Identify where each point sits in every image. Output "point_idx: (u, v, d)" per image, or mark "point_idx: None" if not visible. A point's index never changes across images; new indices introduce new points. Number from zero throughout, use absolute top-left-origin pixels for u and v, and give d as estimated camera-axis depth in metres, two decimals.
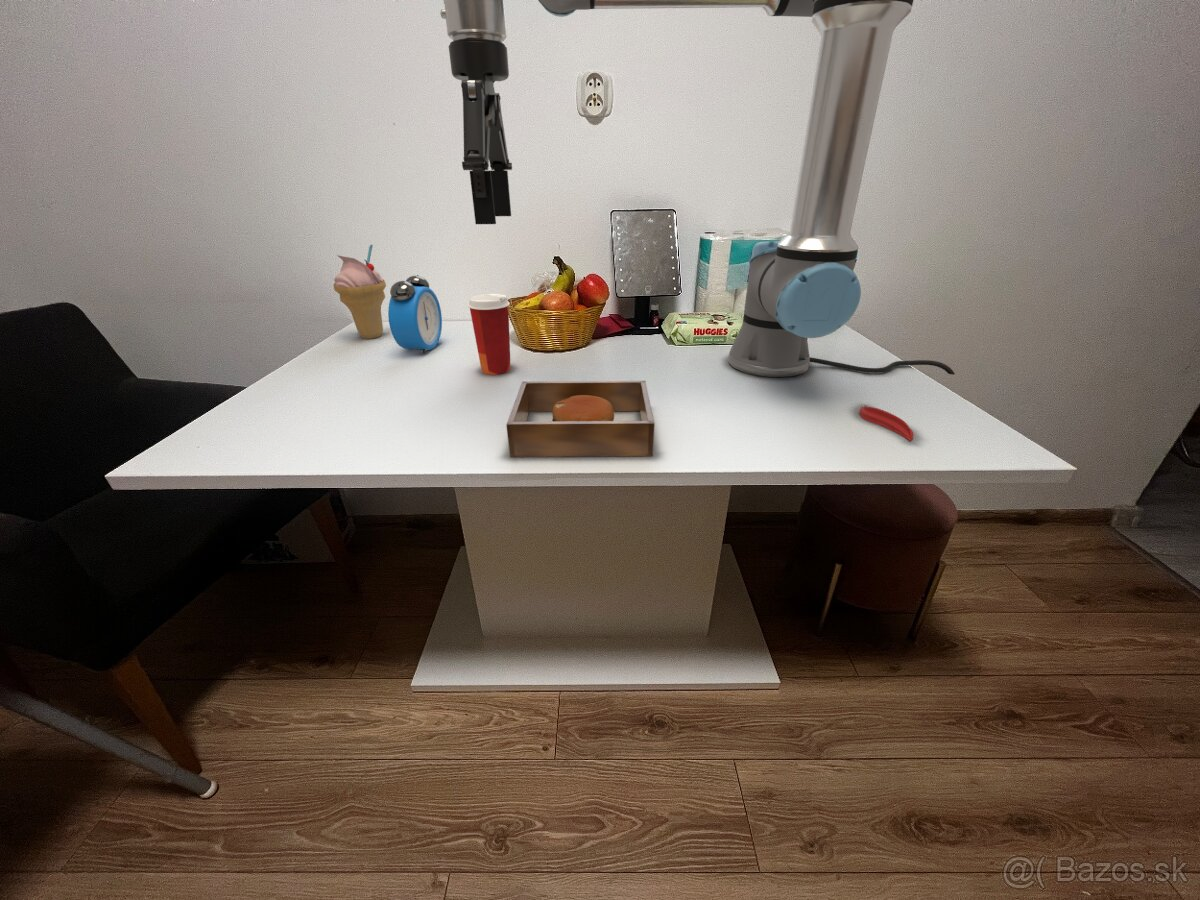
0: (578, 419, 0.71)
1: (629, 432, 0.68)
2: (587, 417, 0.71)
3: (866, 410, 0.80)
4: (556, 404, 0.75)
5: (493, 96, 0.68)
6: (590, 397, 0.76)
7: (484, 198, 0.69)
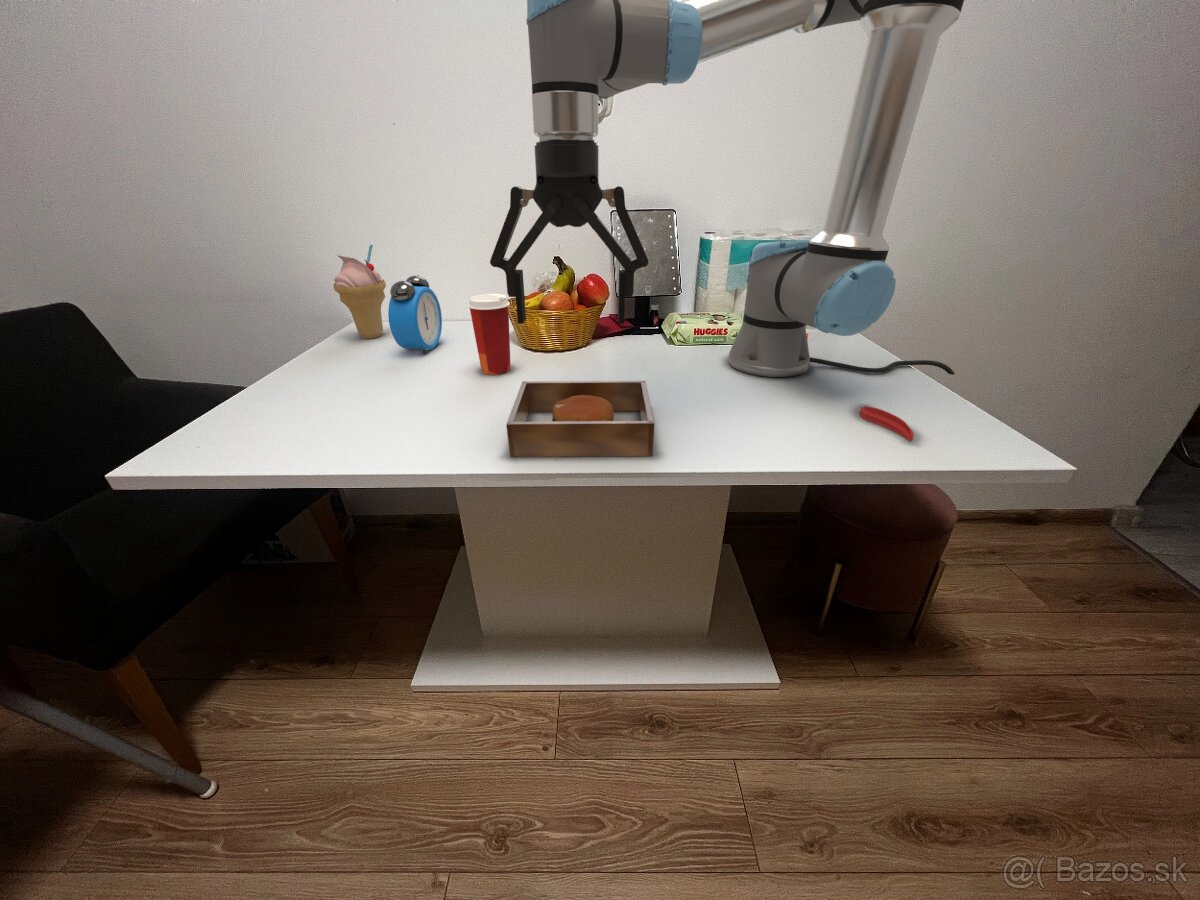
0: (578, 419, 0.71)
1: (629, 432, 0.68)
2: (587, 417, 0.71)
3: (866, 410, 0.80)
4: (556, 404, 0.75)
5: (552, 198, 0.61)
6: (590, 397, 0.76)
7: None
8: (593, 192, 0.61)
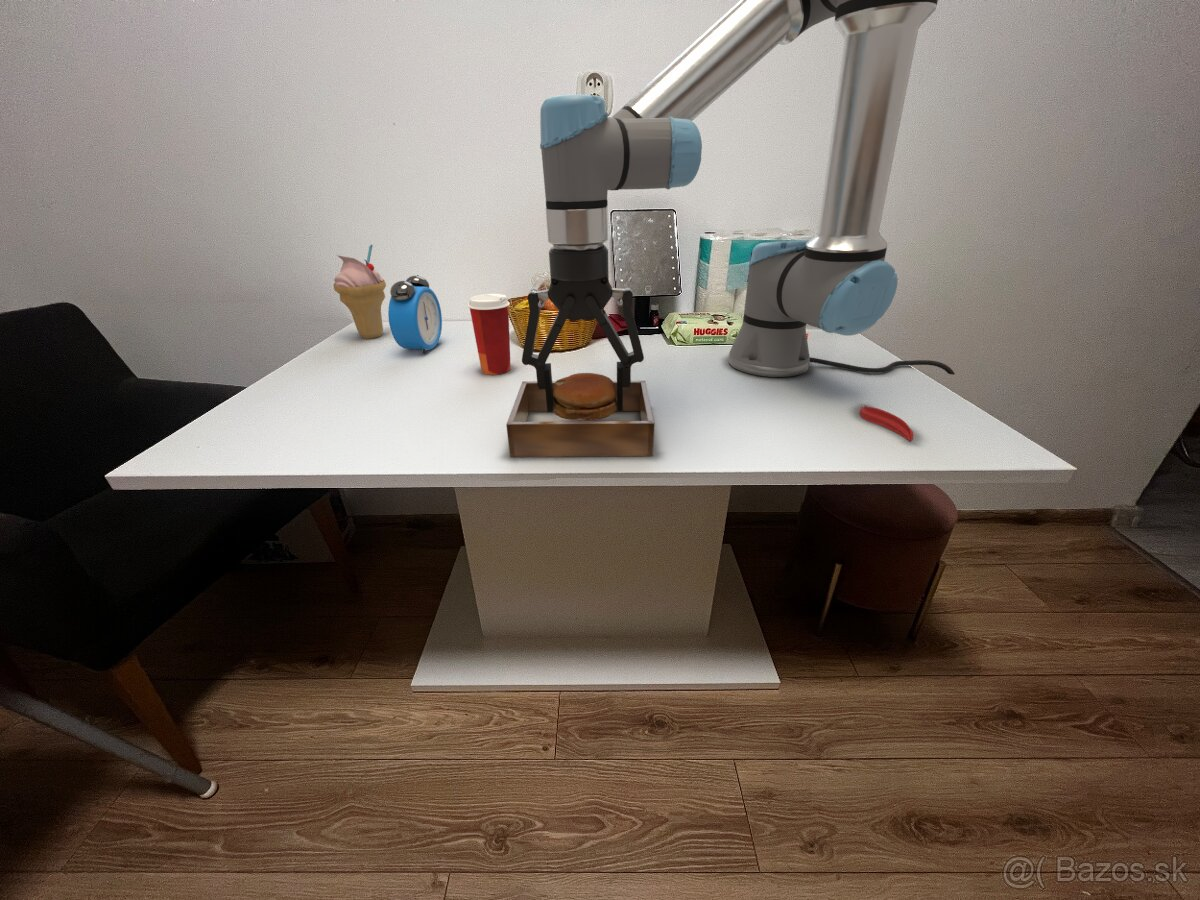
0: (579, 396, 0.70)
1: (629, 432, 0.68)
2: (588, 393, 0.70)
3: (866, 410, 0.80)
4: (557, 382, 0.74)
5: (566, 297, 0.65)
6: (591, 374, 0.74)
7: None
8: (604, 291, 0.66)
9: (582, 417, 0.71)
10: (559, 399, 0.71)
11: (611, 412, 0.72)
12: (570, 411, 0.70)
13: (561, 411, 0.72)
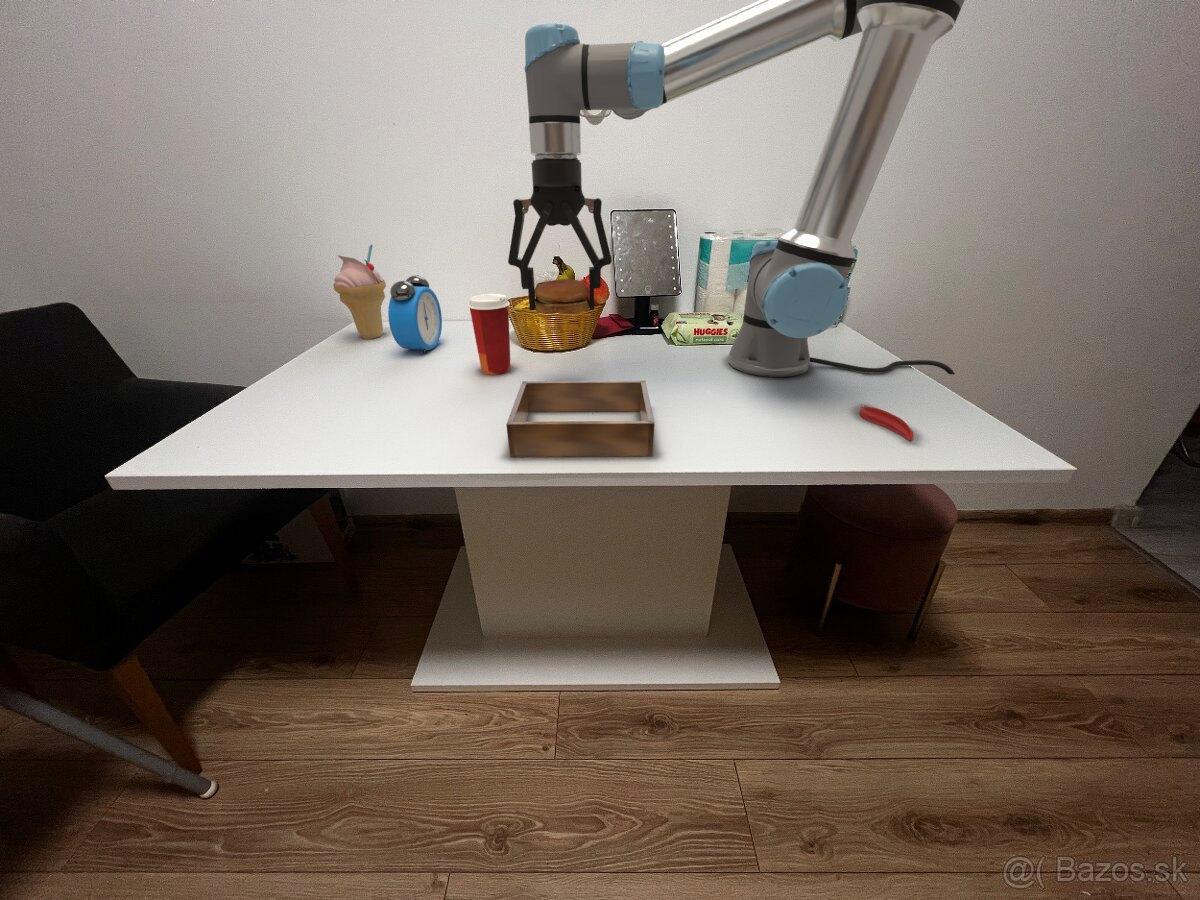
0: (556, 291, 0.82)
1: (629, 432, 0.68)
2: (564, 289, 0.83)
3: (866, 410, 0.80)
4: (538, 284, 0.86)
5: (546, 203, 0.78)
6: (568, 279, 0.87)
7: None
8: (578, 198, 0.78)
9: (559, 311, 0.83)
10: (539, 295, 0.84)
11: (584, 308, 0.85)
12: (549, 305, 0.83)
13: (542, 307, 0.85)
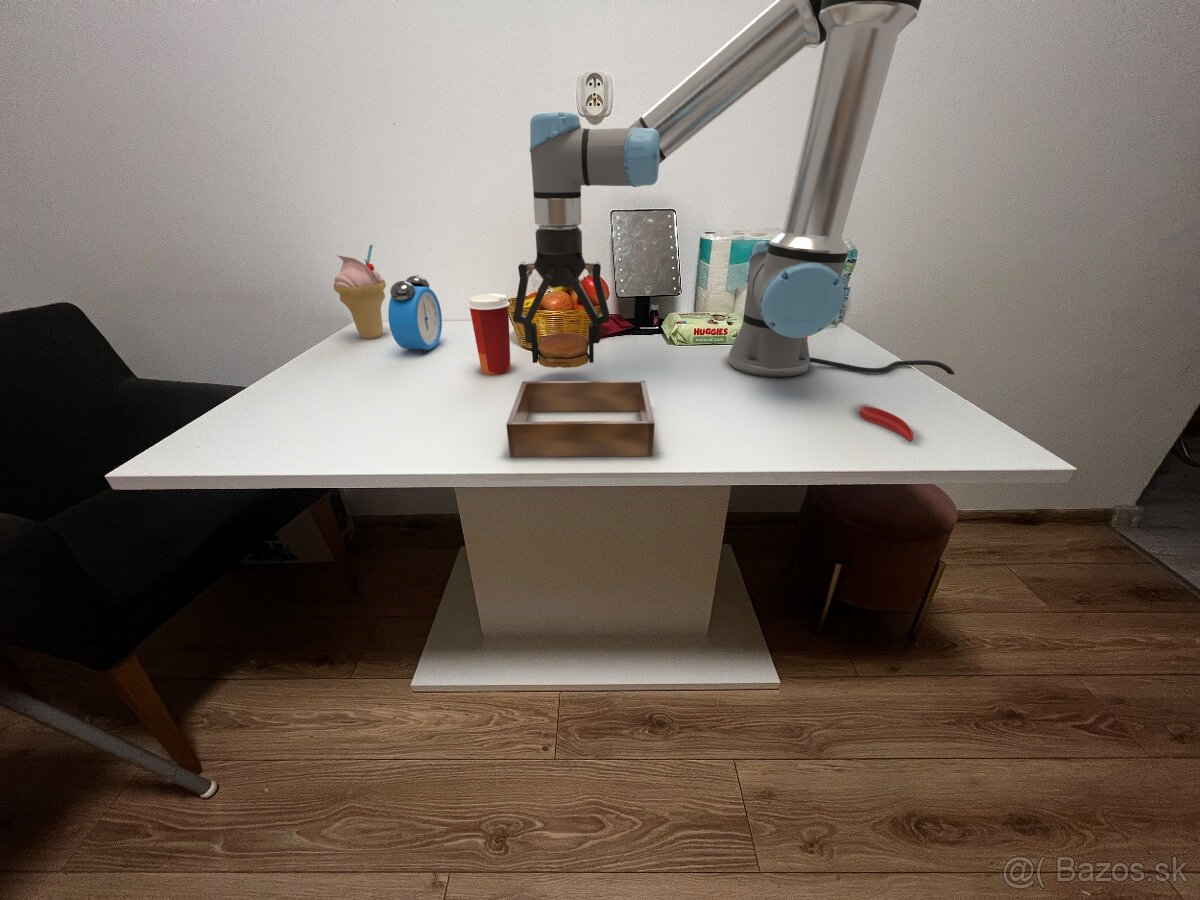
0: (558, 347, 0.88)
1: (629, 432, 0.68)
2: (565, 346, 0.88)
3: (866, 410, 0.80)
4: (541, 338, 0.92)
5: (548, 268, 0.84)
6: (569, 333, 0.93)
7: (532, 343, 0.91)
8: (578, 264, 0.84)
9: (560, 365, 0.89)
10: (542, 350, 0.89)
11: (584, 362, 0.90)
12: (551, 360, 0.89)
13: (544, 361, 0.90)
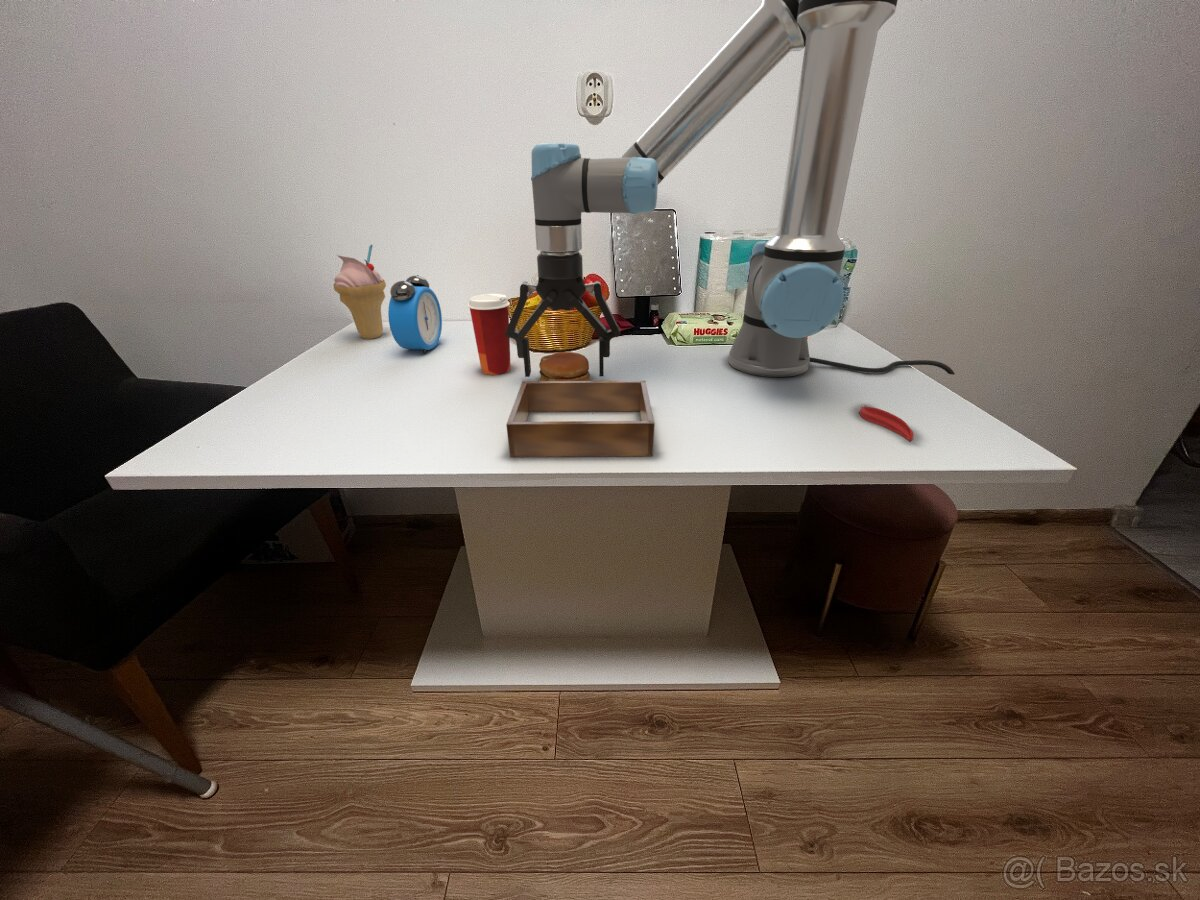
0: (559, 368, 0.90)
1: (629, 432, 0.68)
2: (566, 366, 0.90)
3: (866, 410, 0.80)
4: (542, 358, 0.94)
5: (550, 292, 0.86)
6: (570, 353, 0.94)
7: None
8: (579, 287, 0.86)
9: None
10: (544, 370, 0.91)
11: None
12: (552, 380, 0.90)
13: (546, 380, 0.92)
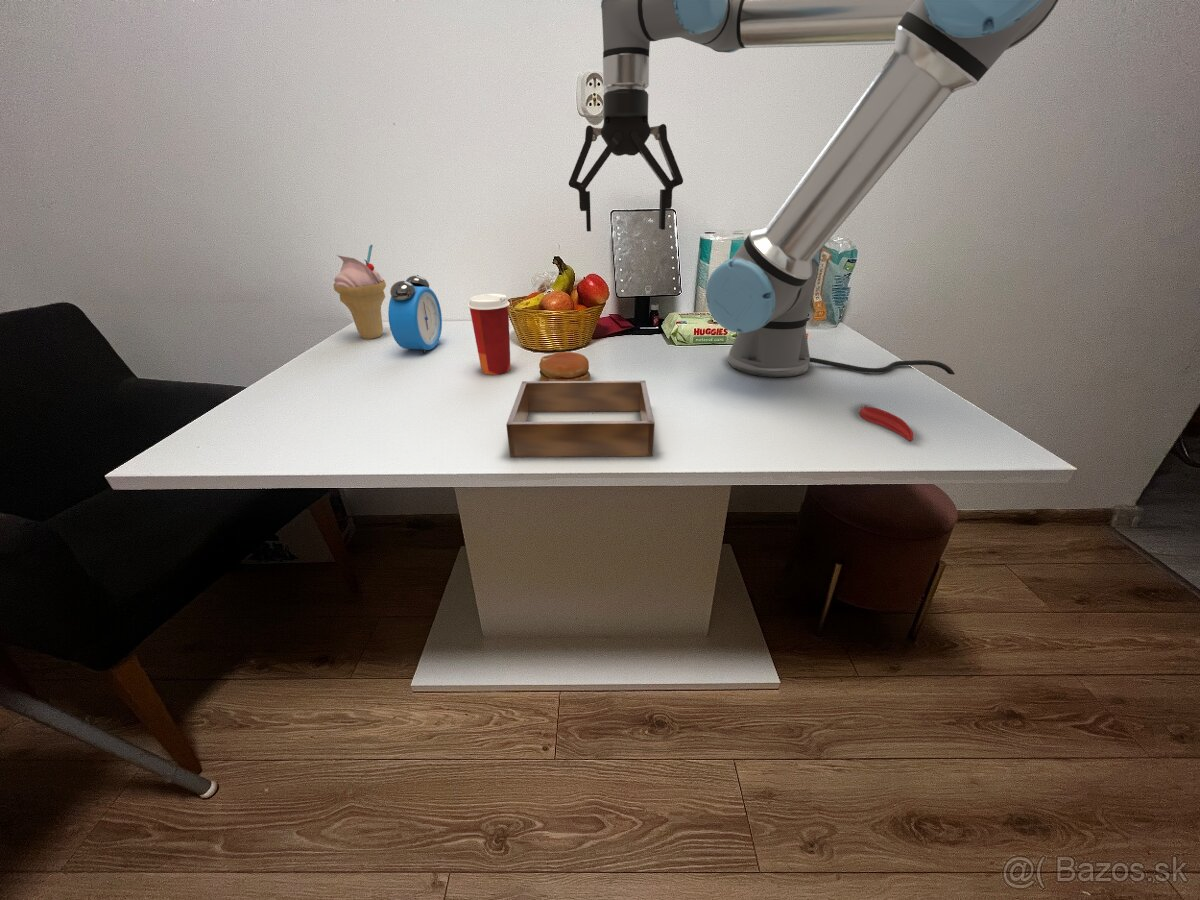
0: (559, 368, 0.90)
1: (629, 432, 0.68)
2: (566, 366, 0.90)
3: (866, 410, 0.80)
4: (542, 358, 0.94)
5: (616, 133, 0.86)
6: (570, 353, 0.94)
7: (586, 211, 0.93)
8: (644, 128, 0.86)
9: None
10: (544, 370, 0.91)
11: None
12: (552, 380, 0.90)
13: (546, 380, 0.92)
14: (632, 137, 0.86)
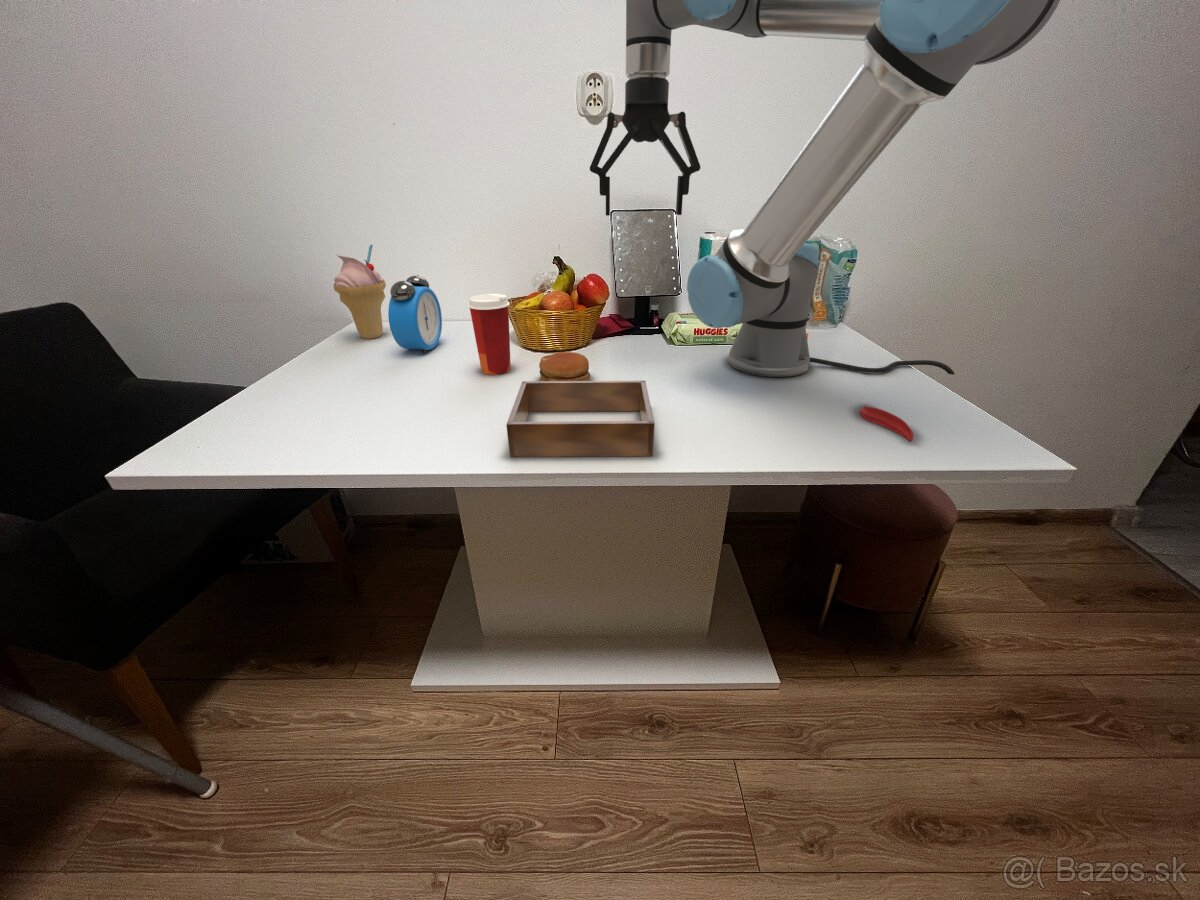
0: (559, 368, 0.90)
1: (629, 432, 0.68)
2: (566, 366, 0.90)
3: (866, 410, 0.80)
4: (542, 358, 0.94)
5: (636, 120, 0.89)
6: (570, 353, 0.94)
7: None
8: (664, 116, 0.89)
9: None
10: (544, 370, 0.91)
11: None
12: (552, 380, 0.90)
13: (546, 380, 0.92)
14: (652, 124, 0.89)
